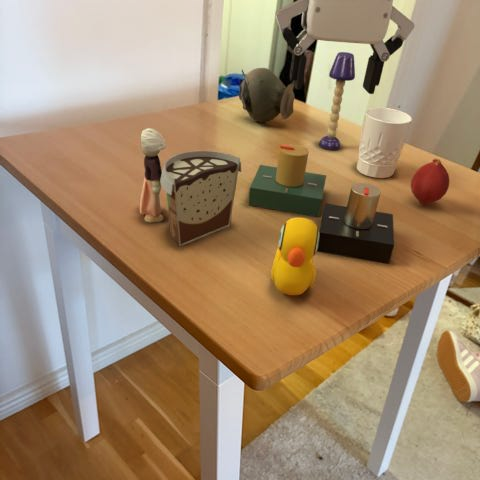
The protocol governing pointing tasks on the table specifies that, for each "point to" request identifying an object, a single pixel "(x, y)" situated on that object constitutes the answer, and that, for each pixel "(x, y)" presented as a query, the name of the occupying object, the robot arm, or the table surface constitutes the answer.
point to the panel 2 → (356, 236)
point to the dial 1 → (291, 165)
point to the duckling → (295, 256)
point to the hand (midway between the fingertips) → (332, 88)
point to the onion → (430, 182)
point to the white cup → (382, 141)
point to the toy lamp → (338, 96)
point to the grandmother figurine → (151, 175)
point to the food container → (199, 193)
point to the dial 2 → (362, 205)
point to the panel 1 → (287, 192)
